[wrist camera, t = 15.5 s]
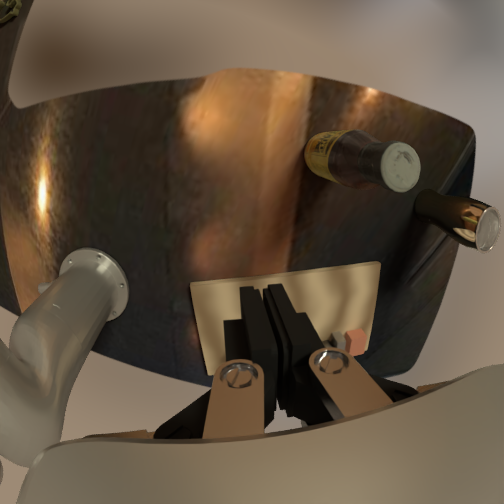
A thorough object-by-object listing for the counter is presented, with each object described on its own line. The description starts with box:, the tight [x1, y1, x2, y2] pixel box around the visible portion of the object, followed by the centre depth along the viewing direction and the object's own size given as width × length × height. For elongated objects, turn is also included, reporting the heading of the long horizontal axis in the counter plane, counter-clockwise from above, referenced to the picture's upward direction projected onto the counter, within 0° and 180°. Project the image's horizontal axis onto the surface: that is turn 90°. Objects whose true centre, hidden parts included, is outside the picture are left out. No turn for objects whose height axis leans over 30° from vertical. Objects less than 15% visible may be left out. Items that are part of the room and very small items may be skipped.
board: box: [190, 261, 381, 375], centre depth 45 cm, size 30×18×1 cm, turn 94°
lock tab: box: [345, 328, 367, 356], centre depth 46 cm, size 3×4×2 cm
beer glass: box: [415, 189, 501, 253], centre depth 34 cm, size 7×7×15 cm
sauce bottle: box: [304, 130, 420, 192], centre depth 28 cm, size 6×6×20 cm
